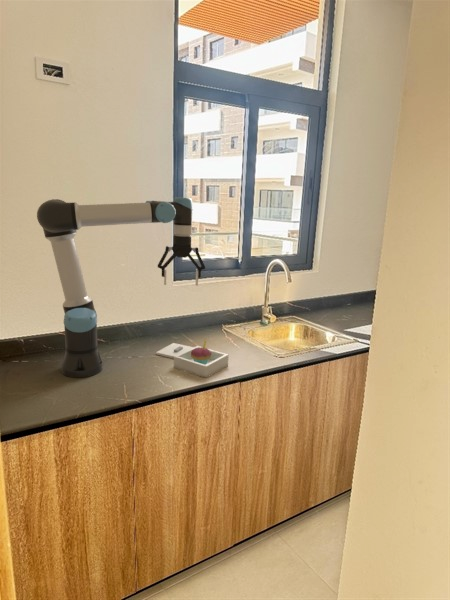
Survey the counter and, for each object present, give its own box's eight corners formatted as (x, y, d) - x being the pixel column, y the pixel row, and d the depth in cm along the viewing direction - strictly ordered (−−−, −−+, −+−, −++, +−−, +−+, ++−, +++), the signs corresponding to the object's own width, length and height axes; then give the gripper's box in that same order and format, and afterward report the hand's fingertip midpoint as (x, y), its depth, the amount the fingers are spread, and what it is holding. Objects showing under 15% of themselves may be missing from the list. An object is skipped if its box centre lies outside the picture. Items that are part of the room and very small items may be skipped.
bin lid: (183, 360, 174) (184, 356, 174) (156, 354, 180) (156, 350, 179) (199, 350, 187) (199, 346, 186) (173, 344, 192) (173, 340, 192)
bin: (205, 378, 159) (206, 366, 158) (173, 367, 167) (173, 356, 166) (228, 365, 172) (228, 354, 171) (197, 356, 180) (197, 345, 179)
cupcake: (213, 362, 172) (214, 335, 169) (207, 370, 164) (208, 341, 161) (194, 359, 174) (195, 332, 172) (187, 366, 167) (187, 338, 164)
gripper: (210, 235, 179) (208, 283, 184) (152, 233, 175) (151, 282, 180) (213, 237, 172) (210, 287, 177) (152, 234, 168) (151, 285, 173)
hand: (180, 284), depth 178 cm, fingers open, 13 cm apart
